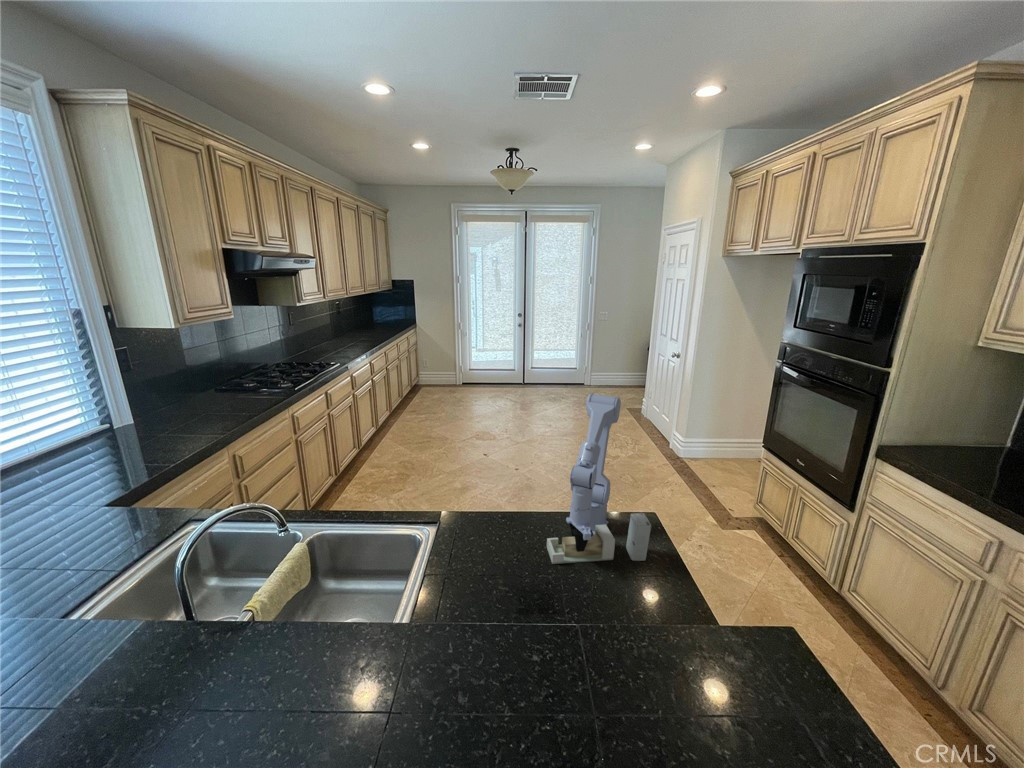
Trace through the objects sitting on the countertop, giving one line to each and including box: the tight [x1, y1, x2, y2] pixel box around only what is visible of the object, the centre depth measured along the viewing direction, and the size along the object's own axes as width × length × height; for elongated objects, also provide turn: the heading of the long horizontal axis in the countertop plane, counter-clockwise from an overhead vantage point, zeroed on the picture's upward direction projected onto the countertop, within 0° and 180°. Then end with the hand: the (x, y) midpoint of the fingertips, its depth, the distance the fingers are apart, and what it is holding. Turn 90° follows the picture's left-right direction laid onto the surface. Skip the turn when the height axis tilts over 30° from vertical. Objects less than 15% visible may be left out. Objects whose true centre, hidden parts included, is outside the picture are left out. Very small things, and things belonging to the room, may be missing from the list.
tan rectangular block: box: [561, 535, 603, 557], centre depth 118 cm, size 12×4×4 cm, turn 97°
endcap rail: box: [546, 524, 616, 565], centre depth 118 cm, size 18×8×7 cm, turn 98°
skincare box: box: [625, 512, 652, 562], centre depth 117 cm, size 6×4×12 cm
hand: (578, 546), depth 118 cm, fingers closed on tan rectangular block, 3 cm apart
